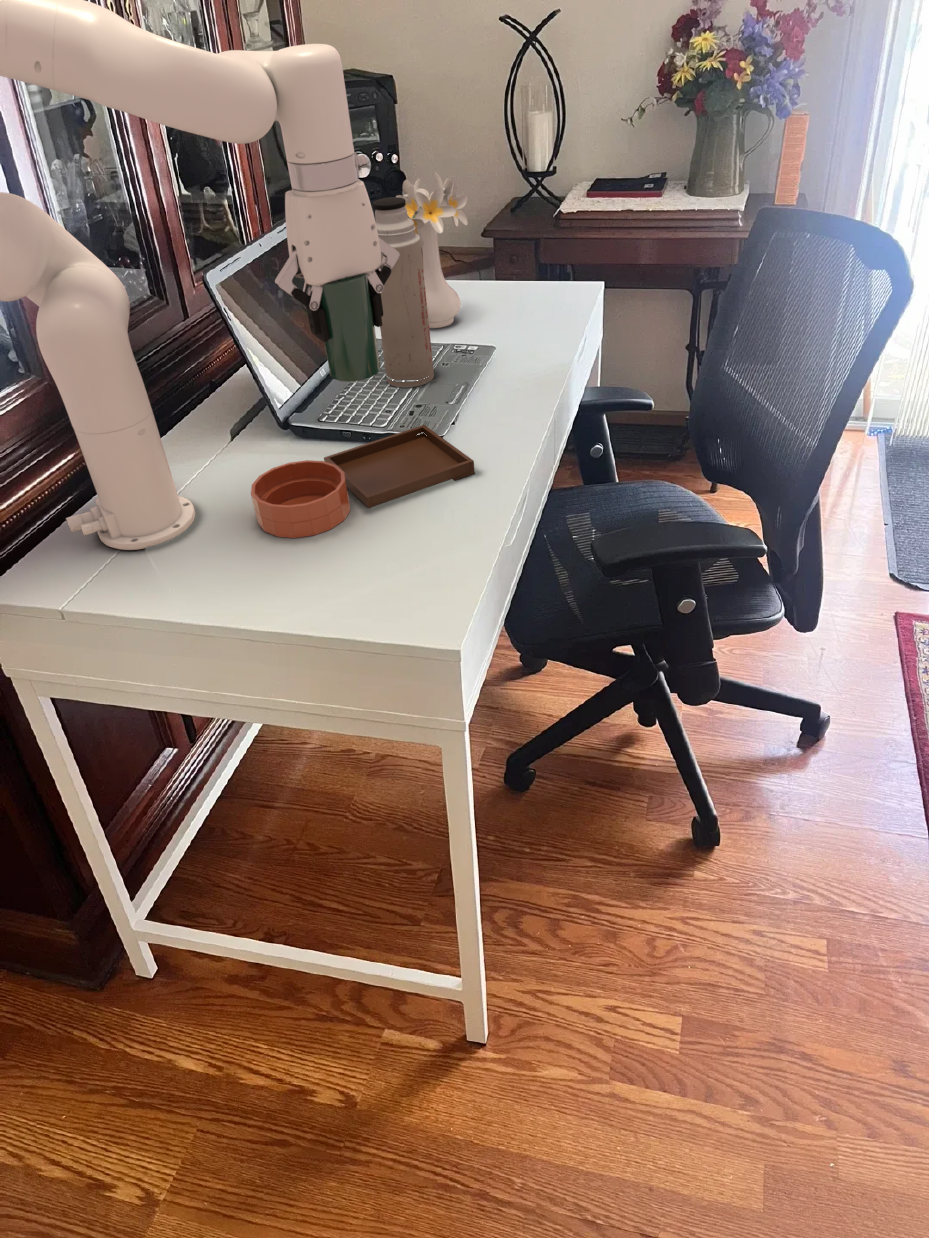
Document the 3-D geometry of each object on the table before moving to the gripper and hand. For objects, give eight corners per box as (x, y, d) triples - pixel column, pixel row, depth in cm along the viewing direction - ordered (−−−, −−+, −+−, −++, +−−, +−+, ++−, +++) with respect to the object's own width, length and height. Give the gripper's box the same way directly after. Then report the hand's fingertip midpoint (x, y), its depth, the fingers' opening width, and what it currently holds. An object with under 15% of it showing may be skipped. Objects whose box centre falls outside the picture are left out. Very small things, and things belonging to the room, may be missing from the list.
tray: (369, 511, 123) (366, 497, 122) (325, 470, 133) (323, 457, 132) (474, 473, 129) (473, 460, 128) (425, 437, 139) (424, 424, 138)
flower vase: (392, 342, 170) (373, 196, 155) (417, 306, 184) (402, 169, 169) (461, 343, 168) (449, 193, 152) (482, 306, 182) (473, 166, 167)
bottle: (342, 386, 115) (318, 243, 105) (322, 370, 120) (296, 232, 110) (389, 372, 118) (369, 231, 107) (367, 357, 122) (346, 220, 112)
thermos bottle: (438, 368, 159) (421, 192, 142) (428, 388, 153) (408, 206, 136) (393, 368, 161) (371, 194, 144) (381, 387, 155) (356, 208, 138)
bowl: (279, 551, 117) (271, 517, 114) (246, 512, 125) (238, 479, 122) (365, 520, 121) (360, 486, 118) (328, 484, 130) (322, 451, 127)
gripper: (378, 155, 111) (397, 306, 121) (239, 184, 104) (272, 340, 115) (407, 165, 105) (424, 322, 116) (262, 196, 99) (295, 358, 110)
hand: (348, 330), depth 116 cm, fingers closed on bottle, 6 cm apart
